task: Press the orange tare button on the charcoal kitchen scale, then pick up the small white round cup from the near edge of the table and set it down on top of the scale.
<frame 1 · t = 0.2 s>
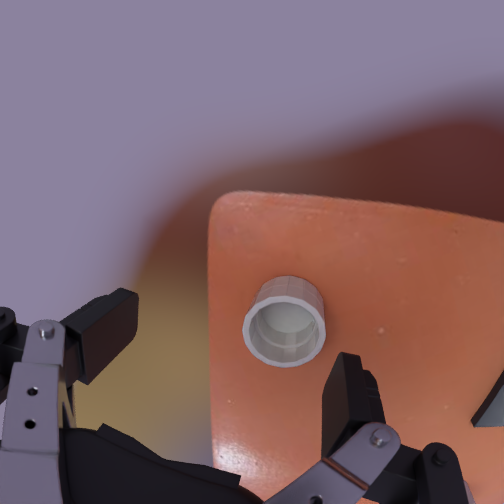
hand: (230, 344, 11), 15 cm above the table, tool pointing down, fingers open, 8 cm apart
coffee cup: (449, 489, 31), on the table
white round cup: (288, 306, 27), on the table
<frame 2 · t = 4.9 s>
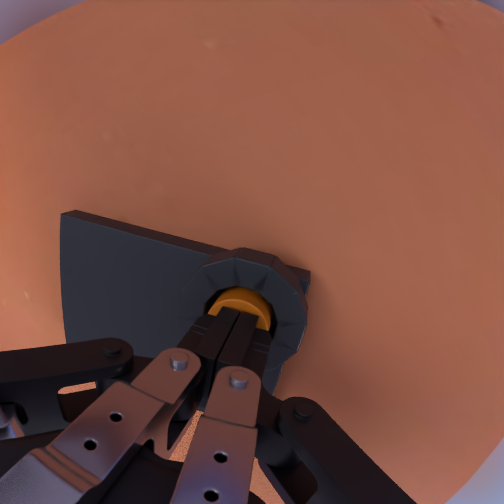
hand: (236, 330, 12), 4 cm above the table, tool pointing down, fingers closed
scale: (165, 318, 17), on the table
tare button: (240, 319, 13), point 3 cm above the table, slide at -0.5 cm, touching gripper
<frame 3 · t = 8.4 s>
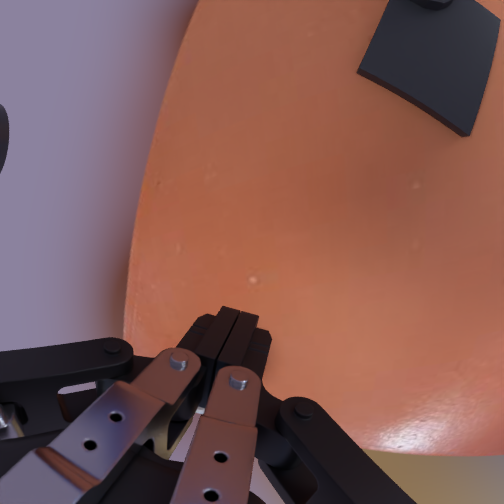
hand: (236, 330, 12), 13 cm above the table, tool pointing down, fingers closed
scale: (436, 41, 17), on the table
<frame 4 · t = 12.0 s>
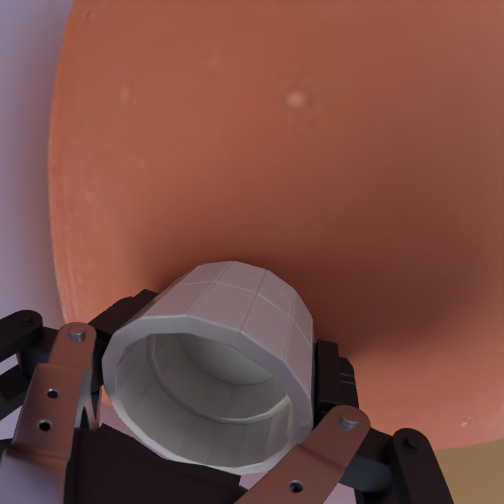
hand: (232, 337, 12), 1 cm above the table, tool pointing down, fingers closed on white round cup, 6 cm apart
white round cup: (237, 330, 12), on the table, touching gripper
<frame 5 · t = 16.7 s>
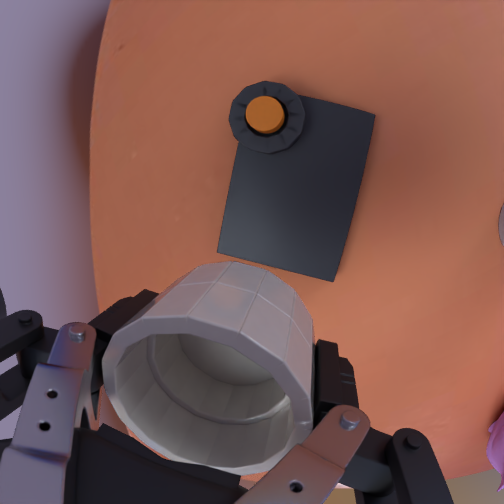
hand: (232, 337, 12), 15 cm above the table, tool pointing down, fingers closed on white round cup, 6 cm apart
white round cup: (237, 330, 12), point 15 cm above the table, touching gripper
scale: (295, 182, 25), on the table
tare button: (265, 115, 20), point 3 cm above the table, slide at 0.1 cm
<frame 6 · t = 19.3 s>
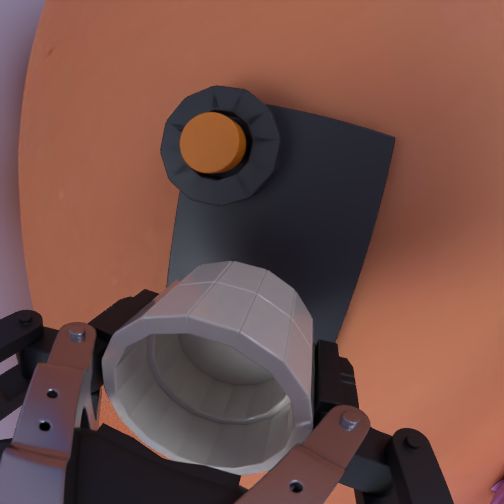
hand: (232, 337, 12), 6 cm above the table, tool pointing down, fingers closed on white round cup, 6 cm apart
white round cup: (237, 330, 12), point 6 cm above the table, touching gripper
scale: (268, 241, 17), on the table
tare button: (213, 143, 13), point 3 cm above the table, slide at 0.1 cm
when the fingers open (2 cm above the table, at t = 21.2 s): white round cup stays where it is, resting on scale.
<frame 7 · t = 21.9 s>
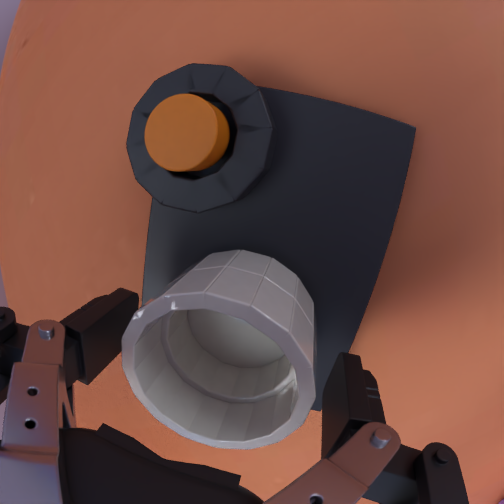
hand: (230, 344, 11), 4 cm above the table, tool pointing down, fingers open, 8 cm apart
white round cup: (243, 315, 13), point 1 cm above the table, touching scale
scale: (261, 253, 14), on the table
tare button: (187, 133, 10), point 3 cm above the table, slide at 0.1 cm
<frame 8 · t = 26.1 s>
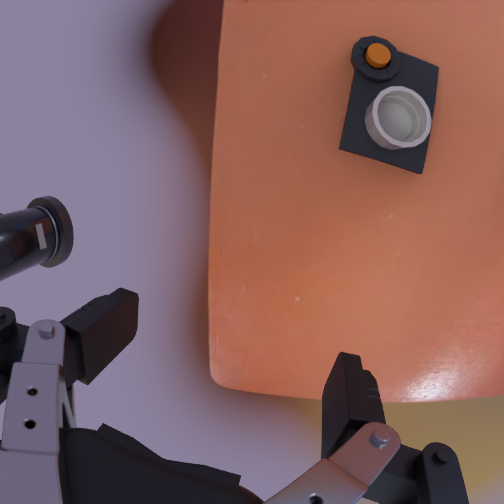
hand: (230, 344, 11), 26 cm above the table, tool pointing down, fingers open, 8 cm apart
white round cup: (390, 123, 29), point 1 cm above the table, touching scale
scale: (390, 105, 30), on the table
tare button: (377, 55, 26), point 3 cm above the table, slide at 0.1 cm
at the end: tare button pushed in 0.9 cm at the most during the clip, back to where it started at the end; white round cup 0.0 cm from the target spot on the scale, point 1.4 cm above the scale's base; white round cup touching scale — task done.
